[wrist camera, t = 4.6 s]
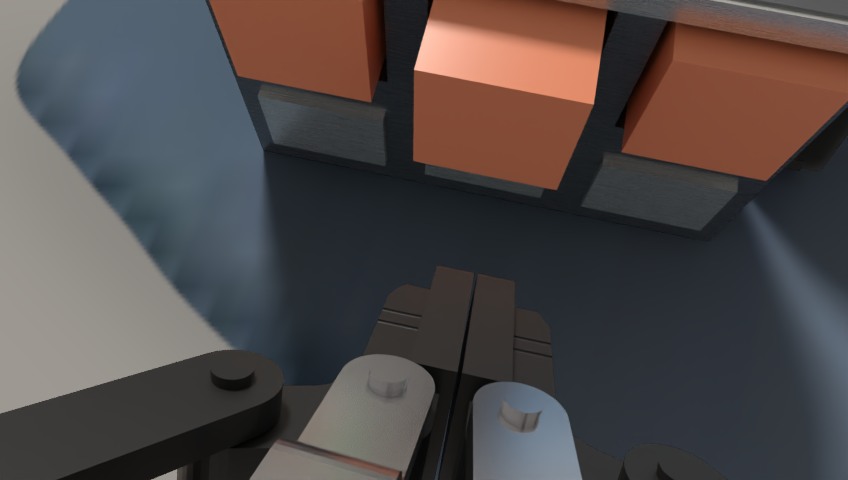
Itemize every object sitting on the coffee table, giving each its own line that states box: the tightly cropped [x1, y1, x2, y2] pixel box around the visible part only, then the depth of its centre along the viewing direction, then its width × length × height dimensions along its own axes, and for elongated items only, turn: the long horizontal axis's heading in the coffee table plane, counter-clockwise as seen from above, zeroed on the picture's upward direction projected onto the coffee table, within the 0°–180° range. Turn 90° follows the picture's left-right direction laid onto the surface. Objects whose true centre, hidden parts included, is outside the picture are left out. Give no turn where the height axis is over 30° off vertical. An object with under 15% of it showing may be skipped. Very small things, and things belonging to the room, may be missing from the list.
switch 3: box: [621, 21, 848, 181], centre depth 22 cm, size 5×5×5 cm
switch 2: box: [413, 0, 607, 190], centre depth 22 cm, size 5×5×5 cm
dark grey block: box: [205, 0, 848, 241], centre depth 26 cm, size 21×6×14 cm, turn 77°
